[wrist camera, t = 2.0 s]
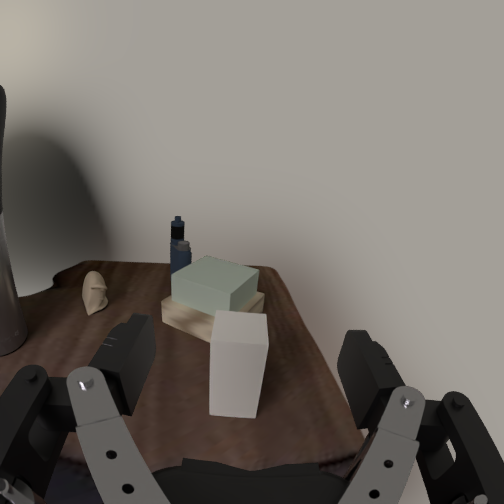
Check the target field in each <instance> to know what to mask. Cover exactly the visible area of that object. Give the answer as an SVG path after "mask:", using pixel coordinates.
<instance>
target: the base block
mask: <svg viewBox="0 0 504 504" xmlns="http://www.w3.org/2000/svg"><path fill="white" fill-rule="evenodd" d="M264 297H265V294H264V293H260V292H256V295H255V296H254V297H253V298H252V299H251V300H250V301H249V302H248V303H247V304H246V305H245V306H244V307H243V308H242V309H241V310H240V311H239V312H246V313H258V314H262V311H263V304H264ZM161 305H162V322H164V323H167V324H169V325H171V326H173V327H175V328H177V329H180V330H182V331H184V332H186V333H189V334H191V335H193V336H196V337H198V338H200V339H203V340H205V341H207V342H211V335H212V330H213V325H214V319H215V317H214V316H212V315H209V314H206V313H203V312H201V311H198V310H195V309H193V308H190V307H188V306H185V305H182V304H180V303H177V302H175V301H172V295H171V296H169V297H167V298H166V299H164V300H163V301H161Z"/></svg>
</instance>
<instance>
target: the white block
mask: <svg viewBox="0 0 504 504" xmlns="http://www.w3.org/2000/svg"><path fill="white" fill-rule="evenodd" d="M268 346H269V342H268V330H267V319H266V314H258V313H246V312H234V311H223V310H216V314H215V319H214V325H213V330H212V335H211V342H210V415H217V416H228V417H241V418H256V413H257V407H258V402H259V397H260V391H261V386H262V380H263V375H264V369H265V364H266V358H267V352H268Z"/></svg>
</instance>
